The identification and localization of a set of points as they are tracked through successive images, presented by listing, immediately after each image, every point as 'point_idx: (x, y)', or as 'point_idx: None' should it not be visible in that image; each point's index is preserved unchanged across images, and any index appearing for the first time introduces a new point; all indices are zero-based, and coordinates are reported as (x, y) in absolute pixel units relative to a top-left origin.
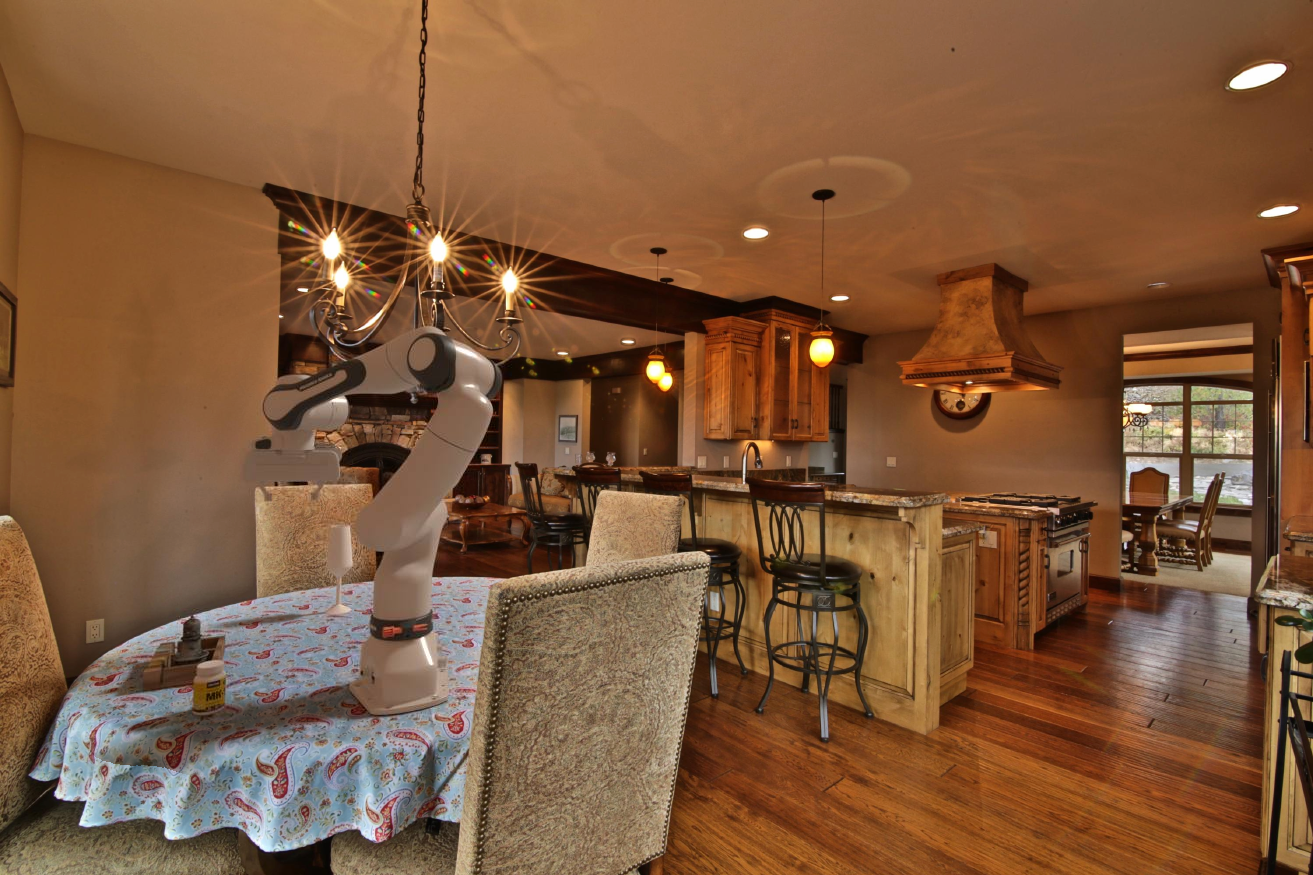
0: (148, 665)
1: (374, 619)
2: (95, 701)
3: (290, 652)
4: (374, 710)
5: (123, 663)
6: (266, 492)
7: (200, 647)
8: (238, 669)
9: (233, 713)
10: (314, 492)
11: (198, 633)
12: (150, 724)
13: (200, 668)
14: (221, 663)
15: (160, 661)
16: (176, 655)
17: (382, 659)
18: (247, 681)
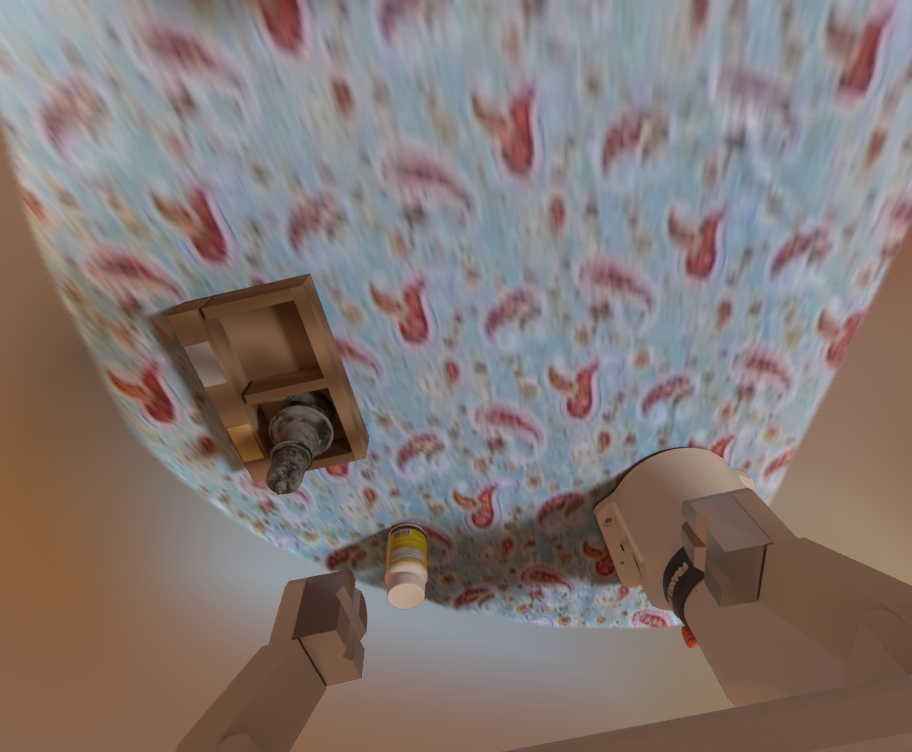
0: (244, 461)
1: (682, 621)
2: (212, 483)
3: (468, 316)
4: (625, 586)
5: (113, 309)
6: (313, 706)
7: (314, 439)
8: (389, 394)
9: (444, 549)
10: (758, 562)
11: (306, 466)
12: (348, 560)
13: (397, 607)
14: (422, 597)
15: (254, 445)
16: (271, 430)
17: (663, 605)
18: (426, 452)
